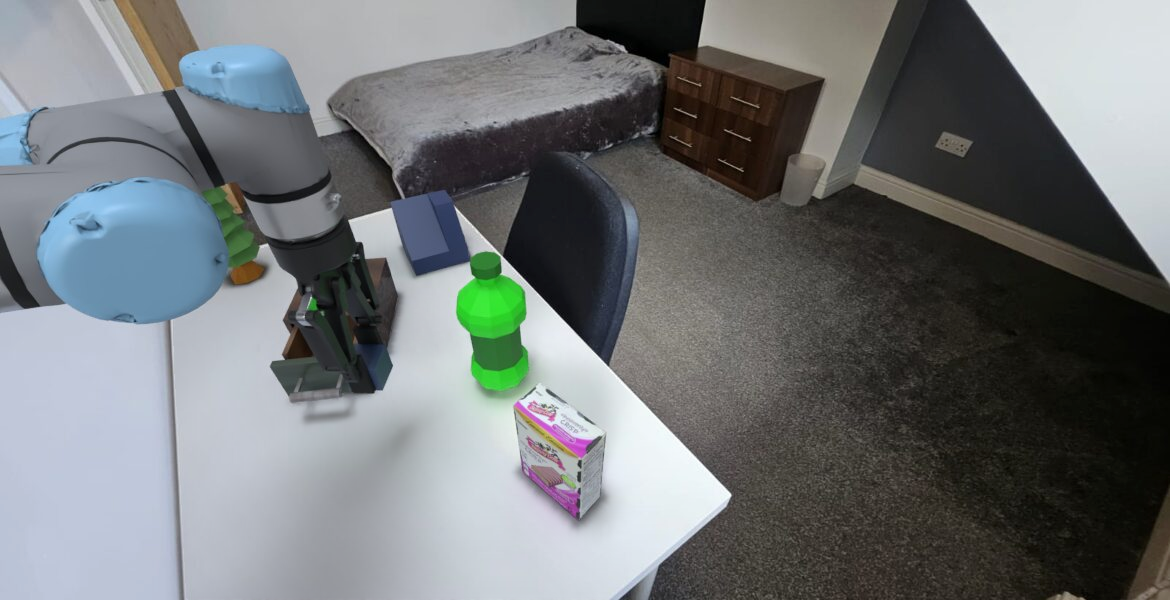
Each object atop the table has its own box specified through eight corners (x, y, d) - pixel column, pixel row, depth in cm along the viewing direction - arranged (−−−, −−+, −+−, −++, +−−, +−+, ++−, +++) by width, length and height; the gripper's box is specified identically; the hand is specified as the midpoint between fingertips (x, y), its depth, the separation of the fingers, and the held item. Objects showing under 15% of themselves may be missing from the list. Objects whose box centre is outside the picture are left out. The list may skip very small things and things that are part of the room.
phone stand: (416, 276, 101) (403, 228, 93) (403, 247, 109) (389, 201, 101) (469, 260, 106) (461, 214, 98) (453, 234, 114) (444, 189, 106)
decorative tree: (265, 285, 98) (188, 146, 78) (213, 293, 95) (121, 152, 76) (273, 258, 105) (204, 124, 85) (225, 265, 102) (142, 129, 83)
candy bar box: (519, 473, 67) (510, 404, 57) (544, 449, 70) (539, 379, 60) (578, 524, 62) (580, 459, 51) (602, 497, 65) (608, 429, 54)
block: (350, 389, 60) (339, 368, 58) (362, 365, 64) (352, 343, 61) (382, 390, 60) (373, 369, 58) (393, 365, 64) (385, 344, 61)
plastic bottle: (524, 406, 76) (512, 288, 60) (462, 396, 77) (433, 277, 61) (539, 360, 84) (532, 244, 67) (482, 352, 85) (461, 236, 68)
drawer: (367, 411, 74) (352, 379, 69) (281, 421, 72) (259, 389, 67) (386, 328, 88) (374, 296, 82) (314, 335, 86) (298, 302, 81)
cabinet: (386, 352, 84) (371, 312, 78) (304, 360, 83) (282, 320, 76) (398, 296, 96) (386, 257, 90) (327, 302, 94) (309, 262, 88)
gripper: (303, 278, 40) (377, 433, 55) (374, 183, 53) (418, 330, 68) (214, 276, 40) (313, 432, 55) (308, 181, 53) (366, 329, 68)
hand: (371, 375), depth 62 cm, fingers closed on block, 4 cm apart
